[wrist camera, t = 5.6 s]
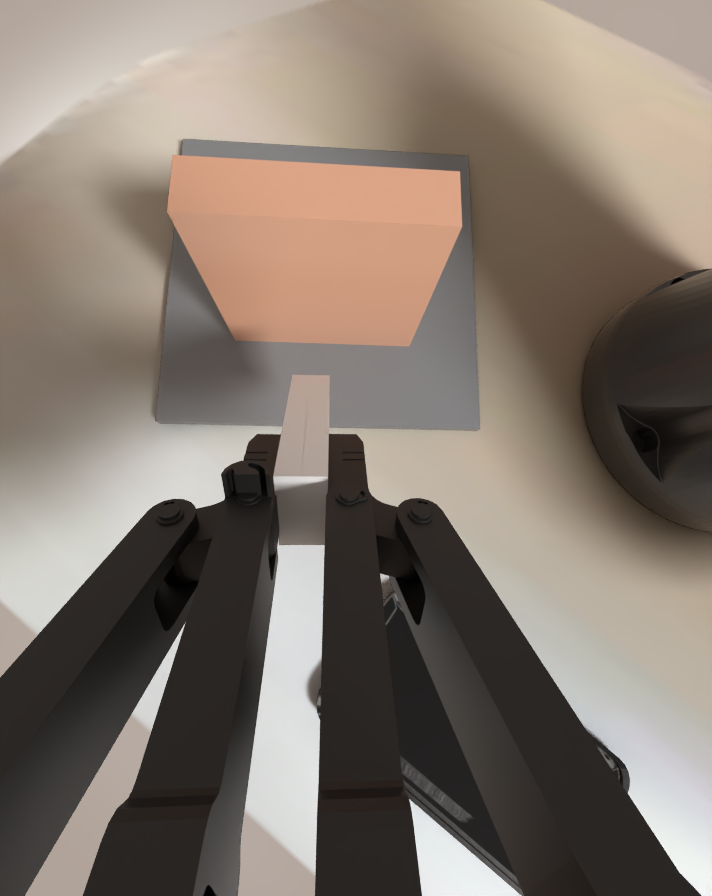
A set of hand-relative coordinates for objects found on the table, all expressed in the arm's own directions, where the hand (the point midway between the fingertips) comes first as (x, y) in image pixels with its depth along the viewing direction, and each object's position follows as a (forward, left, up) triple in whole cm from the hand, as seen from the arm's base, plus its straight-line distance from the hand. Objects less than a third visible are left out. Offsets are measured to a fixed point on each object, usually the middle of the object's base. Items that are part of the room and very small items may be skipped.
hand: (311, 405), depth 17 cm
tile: (+2, -6, -6) cm, 9 cm away
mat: (+3, -9, -6) cm, 11 cm away
